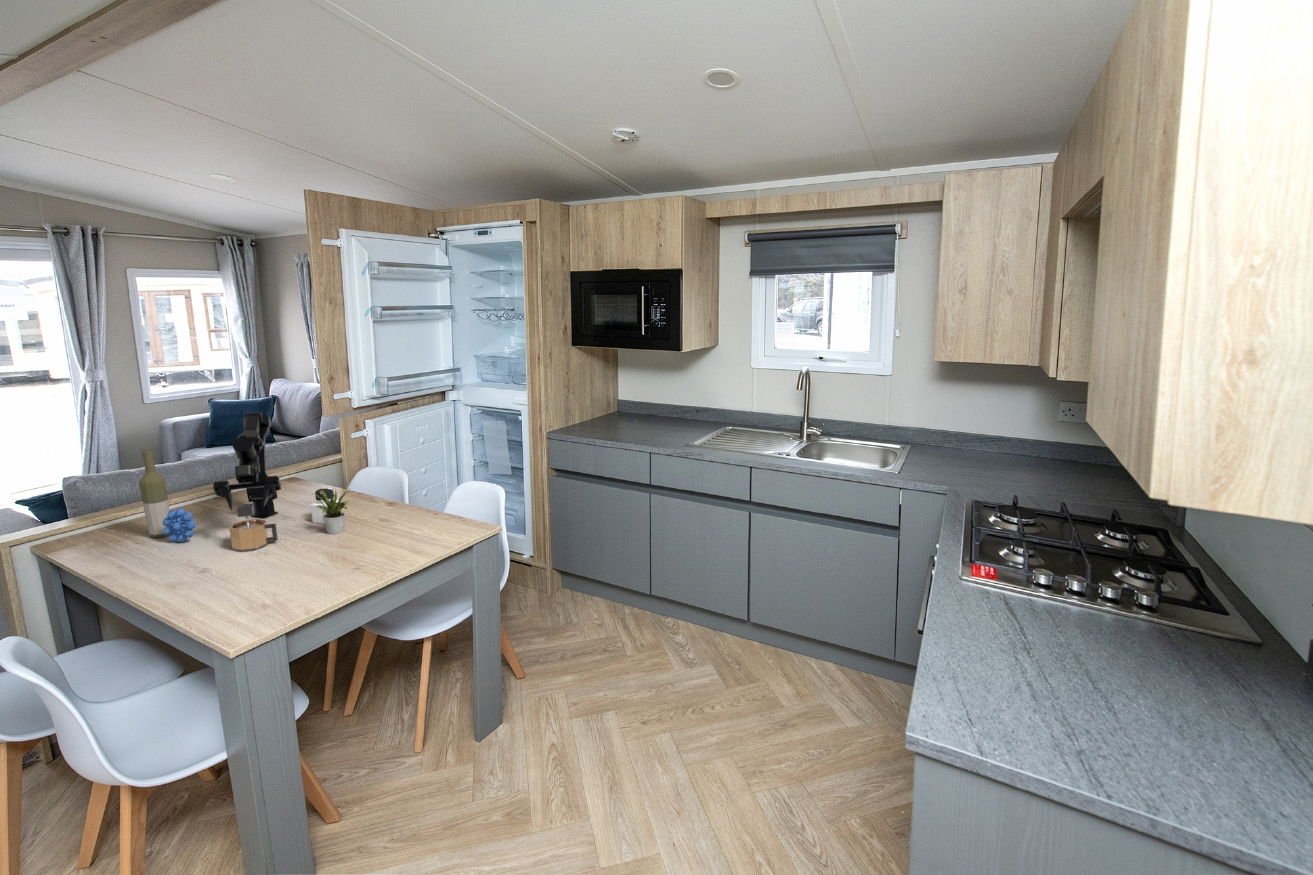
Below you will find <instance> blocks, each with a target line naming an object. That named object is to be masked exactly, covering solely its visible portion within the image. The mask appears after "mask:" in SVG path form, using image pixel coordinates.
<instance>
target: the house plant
mask: <svg viewBox="0 0 1313 875" xmlns="http://www.w3.org/2000/svg"><path fill="white" fill-rule="evenodd" d="M334 488H335V487H332V489H333V490H334ZM350 489H351V487H350V488H348V489H346V490H345V491H344V492H343V493H342V494H341V496H339V498H338V491H339V490H337V489H335V490H334V497H333V498H332V499H330V501H329V499H328V497H327V495H326V493H325V492H324V491H323V493H324V494H325V495H324V494H323V493H322V492H320V493H321V494H322V496H323V497H324V498H325V499H324V498H322V497H319V496H318V495H317V496H318V498H320V499H321V500H322V501H323V502H324V503H325V504H326V505H327V507H328V508H329V509H327V507H326V506H325V505H324V504H323V503H322V502H321V501H320V500H318V501H319V502H321V503H322V504H323V506H322V505H318V506H316V507H320V508H318V509H321V510H323V509H324V510H323V513H324V512H326V513H327V514H325V515H324V516H323V519H324V522H325V524H324V525H325V529H326V531H327V534H328V535H339V534H342V533H344V532H345V524H346V523H345V521H346V512H344V511H343V509H345V510H346V511H348V507H347V506H346V505H347V504H350V503H349V502H350V500H349V501H348V500H347V501H342V499H343V498H344V497H345V496H346V495H347V493H348V491H349V490H350ZM333 490H332V496H333ZM321 491H322V490H321ZM311 494H312V495H316V494H315V492H311ZM316 498H317V497H316V496H315V497H314V499H316ZM337 500H339V501H338V503H337V505H336V501H337ZM340 502H341V503H340Z"/></svg>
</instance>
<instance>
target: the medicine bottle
mask: <svg viewBox="0 0 1313 875" xmlns="http://www.w3.org/2000/svg"><path fill="white" fill-rule="evenodd" d="M321 490H322V491H321ZM332 490H333V496H332ZM323 491H324V492H325V493H326V495H327V497H328V499H329V501H330V499H332V498H333V497H334V498H335V496H334V495H335V490H334V489H333V488H331V487H322V488H319V489H317V490H315V492H314V495H315V494H316V495H315V497H317V498H315V502H314V503H311V504H310V510H311V519H312V523H313V524H323V525H325V522H324V519H323V516H324V515H325V514H327V513H326V512H324V513H323V510H324V509H323V510H321V509H318V508H320V507H316V506H318V505H322V506H323V504H324V505H325V506H326V507H327V505H326V504H325V503H324V502H323V501H322V500H321V499H320V498H318V496H319V497H322V498H324V497H323V496H322V494H321V493H320V492H322V493H323ZM323 494H324V493H323ZM317 495H318V496H317ZM324 495H325V494H324ZM324 499H325V498H324ZM318 500H320V501H321V502H322V503H323V504H322V503H321V502H319V501H318ZM338 501H339V499H337V501H336V505H337V503H338ZM340 503H342V501H341V502H340ZM327 509H329V508H328V507H327Z"/></svg>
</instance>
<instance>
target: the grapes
mask: <svg viewBox="0 0 1313 875" xmlns="http://www.w3.org/2000/svg"><path fill="white" fill-rule="evenodd" d="M193 518H194V514H193V513H191V512H190V511H186V509H184V508H183V507H180V508H177V509H176V510H175V509H173V510H172V509H171V510H169V512H168V514H167V518H164V520H163V522H162V523H163V525H164V526H167V527H165V528H164V530H163V533H164V534H165V535H167V536H169V537H168V540H169V541H170V542H176V541H177V542H179V543H182V544H183V543H185V542H186V541H187V539H190V538H193V537H194V534H195V531H194V530H195V529H196V527H197V522H196V521H195V520H192V519H193Z"/></svg>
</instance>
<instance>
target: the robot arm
mask: <svg viewBox="0 0 1313 875" xmlns="http://www.w3.org/2000/svg"><path fill="white" fill-rule="evenodd" d="M242 419H243V420H242V421H243V429H244V430H243V432H241V433H239V434H238V436H237V439H236V440H235V441H234V442H233V443H232V448H233V451H234V453H235V457H236V458H237V460H238V465H236V466H234V473H235V474H234V476H235V481H236V483H234V482H233V483H229V480H228V479H226V480H224V479H223V480H216V481H214V482H213V484H212V489H213V491H214V493H215V495H216V496H217V497H221V498H222V499H223V498H224V499H225V500H226V502H227V505H228V508H229V510H230V511H233V495H232V494H231V493H232V490H243V489H244V490H245V489H246V495H247V499H248V503H253V504H254V511H255V512H254V514H253V516H250V517H252V518H257V519H266V518H268V517H271V516H274V515H277V514H279V512H278V511H276V509H275V503H274V500H276V499H278V492H277V491H280V490H282V484H281V479H280V477H279V476H278V475H271V476H269V475H267V454H266V439H267V437H268V436H269V435H270V431H271V430H270V428H271V427H272V421H271V420H272V419H271V417H270V415H267V414H263V413H262V412H259V411H257V412H255V411H254V412H247V413H245V416H243V418H242Z"/></svg>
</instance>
